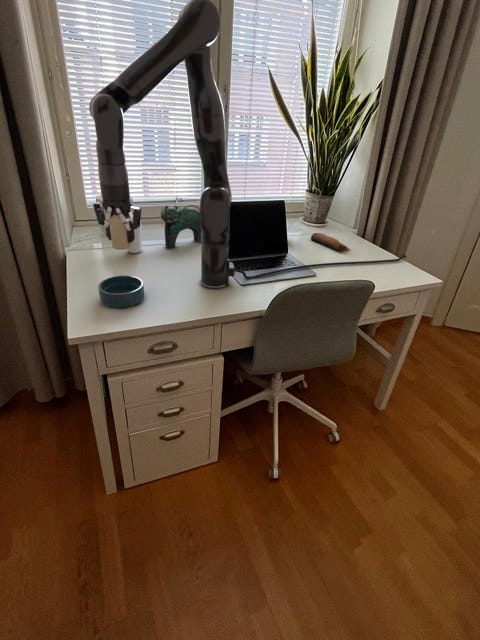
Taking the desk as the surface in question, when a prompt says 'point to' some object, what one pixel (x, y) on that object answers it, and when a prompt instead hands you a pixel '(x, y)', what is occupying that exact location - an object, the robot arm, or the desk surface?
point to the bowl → (121, 291)
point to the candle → (118, 233)
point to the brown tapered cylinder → (329, 241)
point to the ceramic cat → (180, 223)
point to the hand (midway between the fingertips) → (121, 240)
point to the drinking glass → (136, 239)
